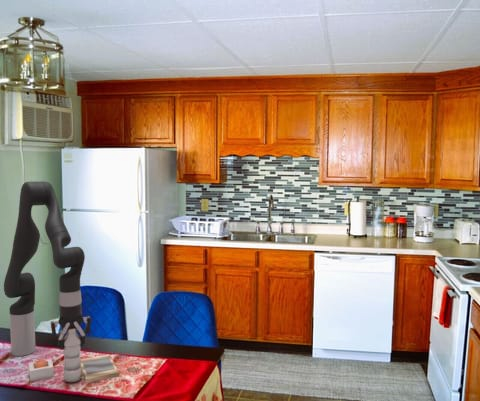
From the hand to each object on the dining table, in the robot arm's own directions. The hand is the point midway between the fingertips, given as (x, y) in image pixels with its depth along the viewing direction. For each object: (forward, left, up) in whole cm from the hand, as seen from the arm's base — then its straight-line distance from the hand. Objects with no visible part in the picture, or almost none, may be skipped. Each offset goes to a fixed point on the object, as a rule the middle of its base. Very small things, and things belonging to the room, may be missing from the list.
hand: (71, 347), depth 172 cm
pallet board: (-5, +10, -13) cm, 17 cm away
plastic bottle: (0, 0, -13) cm, 13 cm away
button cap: (-10, -10, -12) cm, 18 cm away
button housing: (-10, -10, -13) cm, 19 cm away
